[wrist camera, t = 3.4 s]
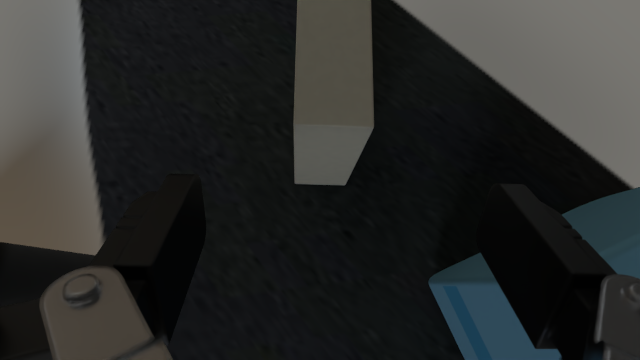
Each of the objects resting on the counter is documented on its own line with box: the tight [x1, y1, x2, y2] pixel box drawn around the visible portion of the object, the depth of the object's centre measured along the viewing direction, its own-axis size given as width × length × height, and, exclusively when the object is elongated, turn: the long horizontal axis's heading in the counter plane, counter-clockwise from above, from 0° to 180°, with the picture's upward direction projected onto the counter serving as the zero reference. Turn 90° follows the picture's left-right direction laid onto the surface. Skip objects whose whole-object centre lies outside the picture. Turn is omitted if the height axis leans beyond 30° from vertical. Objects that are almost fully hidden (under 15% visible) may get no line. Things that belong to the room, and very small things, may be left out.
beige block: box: [294, 0, 374, 185], centre depth 20 cm, size 3×6×9 cm, turn 179°
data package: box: [428, 187, 640, 360], centre depth 17 cm, size 12×4×12 cm, turn 113°
